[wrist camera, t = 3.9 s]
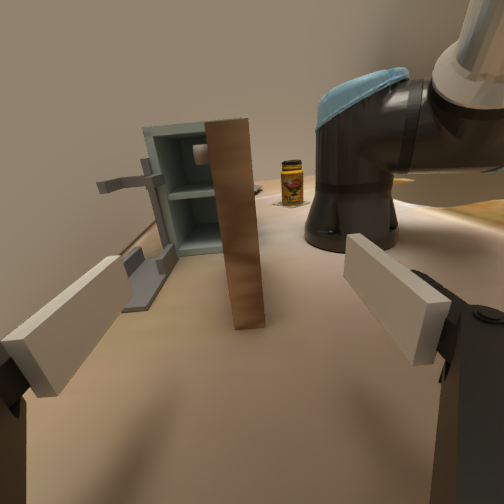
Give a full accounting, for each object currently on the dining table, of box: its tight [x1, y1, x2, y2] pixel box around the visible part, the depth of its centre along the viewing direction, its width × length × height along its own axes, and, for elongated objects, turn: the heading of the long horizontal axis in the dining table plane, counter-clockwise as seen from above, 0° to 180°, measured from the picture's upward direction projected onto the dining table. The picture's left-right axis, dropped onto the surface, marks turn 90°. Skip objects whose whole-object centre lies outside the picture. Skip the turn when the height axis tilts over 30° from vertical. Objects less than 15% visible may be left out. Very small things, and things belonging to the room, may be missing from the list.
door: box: [193, 118, 265, 330], centre depth 26 cm, size 4×13×18 cm, turn 2°
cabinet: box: [96, 118, 242, 313], centre depth 38 cm, size 20×31×20 cm, turn 2°
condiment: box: [274, 160, 310, 208], centre depth 68 cm, size 7×8×12 cm
